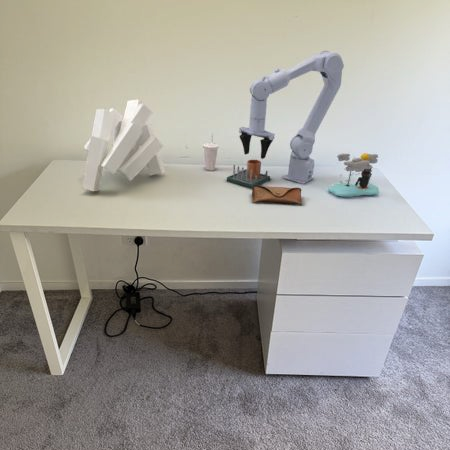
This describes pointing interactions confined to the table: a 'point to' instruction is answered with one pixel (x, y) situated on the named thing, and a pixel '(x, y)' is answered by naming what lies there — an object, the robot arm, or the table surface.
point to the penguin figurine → (363, 182)
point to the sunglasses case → (276, 195)
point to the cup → (254, 168)
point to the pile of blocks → (122, 145)
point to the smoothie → (210, 154)
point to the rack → (242, 178)
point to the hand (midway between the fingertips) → (254, 155)
